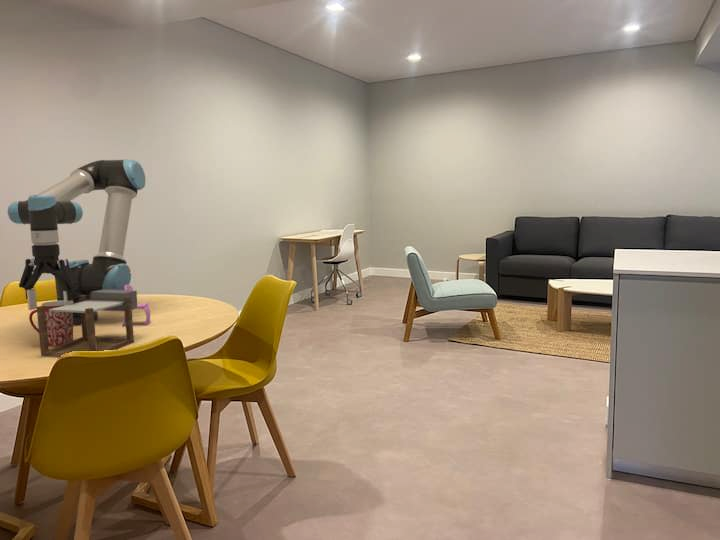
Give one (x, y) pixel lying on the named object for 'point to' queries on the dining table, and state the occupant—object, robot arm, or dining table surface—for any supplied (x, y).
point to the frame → (85, 331)
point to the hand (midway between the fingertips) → (50, 310)
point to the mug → (56, 324)
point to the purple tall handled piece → (139, 307)
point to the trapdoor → (102, 302)
